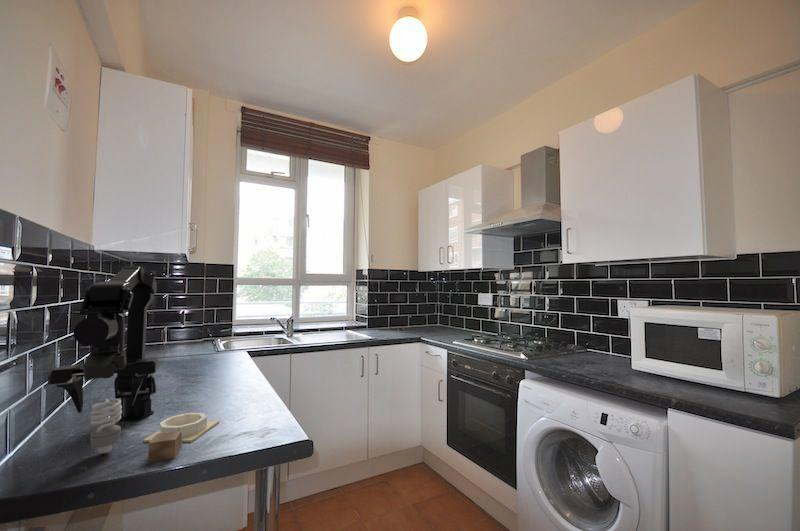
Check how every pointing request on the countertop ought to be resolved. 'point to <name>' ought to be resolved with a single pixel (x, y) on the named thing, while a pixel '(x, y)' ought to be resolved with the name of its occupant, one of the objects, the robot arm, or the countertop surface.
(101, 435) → the light bulb
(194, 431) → the socket
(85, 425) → the countertop surface
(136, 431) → the countertop surface
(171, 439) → the walnut block
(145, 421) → the countertop surface
